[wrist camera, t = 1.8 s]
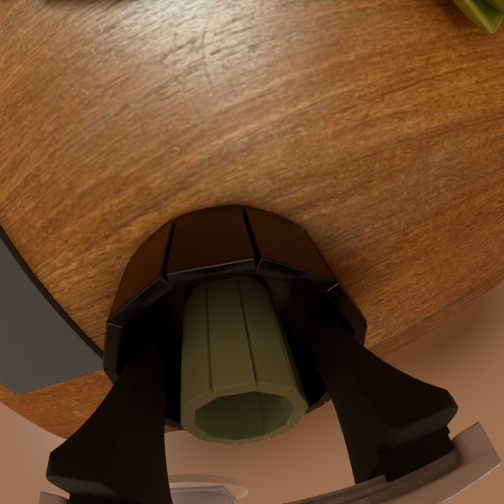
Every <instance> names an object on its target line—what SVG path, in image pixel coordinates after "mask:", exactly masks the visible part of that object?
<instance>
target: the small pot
mask: <svg viewBox="0 0 504 504" xmlns="http://www.w3.org/2000/svg"><path fill="white" fill-rule="evenodd" d="M307 409H308V401H307V398H306V395H305V392H304V389H303V385H302V382H301V379H300V376H299V373H298V370H297V367H296V364H295V360H294V357H293V354H292V351H291V348H290V345H289V342H288V339H287V336H286V333H285V329H284V326H283V323H282V320H281V317H280V314H279V311H278V308H277V306H276V305H275V303H274V300H273V297H272V295H271V293H270V291H269V290H268V289H267V288H266V287H265V286H264V285H263V284H262V283H260V282H259V281H257V280H255V279H253V278H250V277H248V276H241V277H236V278H230V279H224V280H219V281H213V282H207V283H202V284H199V285H197V286H196V287H195V288H194V289H193V290H192V291H191V292H190V294H189V295H188V297H187V299H186V301H185V305H184V313H183V329H182V353H181V393H180V425H181V426H182V428H183V429H185V430H186V431H188V432H189V433H191V434H193V435H194V436H196V437H197V438H199V439H201V440H203V439H204V440H205V441H210V442H216V443H223V444H235V443H236V444H244V443H250V442H256V441H262V440H267V439H268V438H273V437H275V436H277V435H279V434H281V433H283V432H285V431H287V430H289V429H290V428H293V427H294V426H295V424H298V423H299V421H300V420H301V418H302V417H303V415H304V413H305V412H306V410H307Z"/></svg>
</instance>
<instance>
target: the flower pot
mask: <svg viewBox="0 0 504 504" xmlns="http://www.w3.org/2000/svg"><path fill="white" fill-rule="evenodd" d="M452 1H453V2H454V3H455V4H456V6H457V7H458V8H459V9H460V10H461V11H462V12H463V13H464V14H465V15H466V16H467V17H468V18H469V19H470V20H471V21H472V22H473V23H474V24H475V25H476V26H477V27H479V28H480V29H481V30H483V31H484V32H486V33H488V34H494V33H495V32H496V30H497V29H498V27H499V26H500V24H501V22H502V20H503V18H504V0H452Z"/></svg>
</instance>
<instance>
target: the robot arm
mask: <svg viewBox="0 0 504 504" xmlns="http://www.w3.org/2000/svg"><path fill="white" fill-rule="evenodd" d="M309 344H310V347H311V350H312V354H313V357H314V360H315V363H316V366H317V368H318V370H319V372H320V375H321V377H322V379H323V381H324V384H325V386H326V388H327V390H328V393H329V395H330V397H331V399H332V402H333V404H334V407H335V409H336V412H337V416H338V419H339V422H340V425H341V429H342V432H343V435H344V439H345V443H346V447H347V450H348V454H349V458H350V462H351V467H352V471H353V475H354V481H355V485H353V486H350V487H347V488H344V489H340V490H337V491H334V492H330V493H327V494H323V495H319V496H315V497H312V498H307V499H303V500H298V501H294V502H289V503H284V504H441V503H443V502H445V501H447V500H448V499H450V498H452V497H453V496H455V495H457V494H458V493H460V492H462V491H463V490H465V489H466V488H468V487H469V486H471V485H472V484H474V483H475V482H477V481H478V480H479V479H481V478H482V477H484V476H485V475H487V474H488V473H489V472H491V471H492V470H493V469H495V468H496V467H497V466H499V465H500V464H501V460H500V458H499V456H498V454H497V452H496V450H495V448H494V447H493V445H492V443H491V441H490V439H489V438H488V436H487V434H486V432H485V431H484V429H483V427H482V425H481V424H480V422H477V423H475V424H474V425H472V426H471V427H469V428H467V429H466V430H464V431H462V432H461V433H459V434H458V435H456V436H455V437H454V438H453V439H452V440H450V438H449V436H448V434H449V433H450V431H449V429H448V427H447V425H448V423H449V422H450V421H451V420H452V418H453V417H454V416H455V414H456V413H457V410H458V406H457V404H456V402H455V401H454V399H453V397H452V396H451V395H450V393H449V392H448V391H447V390H445V389H443V388H439V387H436V386H433V385H430V384H428V383H425V382H423V381H420V380H418V379H415V378H413V377H411V376H409V375H407V374H405V373H403V372H402V371H400V370H398V369H396V368H394V367H393V366H391V365H389V364H388V363H386V362H385V361H383V360H381V359H380V358H379V357H377V356H376V355H374V354H373V353H372V352H370V351H369V350H368V349H366V348H365V347H364V346H363V345H361V344H360V343H359V342H358V341H357V340H355V339H354V338H353V337H352V336H351V335H350V334H349V333H348V332H347V331H345V330H344V329H343V328H342V327H341V326H340V325H339V324H338V323H337V322H336V321H335V320H334V319H333V318H332V317H331V316H330V315H329V314H328V313H327V312H326V310H324V309H320V310H315V311H311V312H310V343H309ZM166 400H167V368H166V366H165V364H164V362H163V360H162V358H161V356H160V354H159V352H158V350H157V348H156V346H155V344H154V342H153V340H152V339H148V340H140V341H139V342H138V344H137V345H136V347H135V349H134V351H133V352H132V354H131V356H130V358H129V360H128V361H127V363H126V365H125V367H124V369H123V370H122V372H121V374H120V375H119V377H118V379H117V380H116V382H115V384H114V385H113V387H112V388H111V390H110V391H109V393H108V394H107V396H106V397H105V399H104V400H103V402H102V403H101V404H100V406H99V407H98V408H97V409H96V411H95V412H94V413H93V414H92V415H91V416H90V418H89V419H88V420H87V421H86V422H85V423H84V424H83V425H82V426H81V427H80V428H79V429H78V430H77V431H76V432H75V433H74V434H73V435H72V436H71V437H70V438H69V439H67V440H66V441H65V442H64V443H63V444H61V445H60V446H59V447H57V448H56V449H55V450H53V451H52V452H51V453H50V456H49V462H48V466H47V473H46V478H47V480H48V481H49V482H51V483H52V484H54V485H55V486H57V487H59V488H61V489H62V490H64V491H66V492H68V493H69V494H70V498H69V500H68V499H66V498H64V497H61V496H58V495H54V494H50V493H46V492H40V500H39V504H237V503H238V501H237V500H236V499H235V498H234V497H233V496H232V495H231V493H230V492H229V491H228V490H227V489H226V488H225V487H224V486H208V487H191V488H170V487H169V480H168V474H167V466H166V456H165V443H164V428H165V413H166Z"/></svg>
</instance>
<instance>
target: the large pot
mask: <svg viewBox="0 0 504 504" xmlns="http://www.w3.org/2000/svg"><path fill="white" fill-rule="evenodd" d="M241 276H248V277H250V278H253V279H255V280H257V281H259V282H260V283H262V284H263V285H264V286H265V287H266V288H267V289H268V290H269V291H270V293H271V295H272V297H273V300H274V303H275V305H276V306H277V308H278V311H279V314H280V317H281V320H282V323H283V326H284V329H285V333H286V336H287V339H288V342H289V345H290V348H291V351H292V354H293V357H294V360H295V364H296V367H297V370H298V373H299V376H300V379H301V382H302V385H303V389H304V392H305V395H306V398H307V401H308V409H307V410H306V412H305V413H304V415H305V414H307V413H309V412H311V411H312V410H315V409H317V408H318V407H320V406H322V405H324V404H325V403H324V402H328V401H329V400H330V399H331V397H330V395H329V393H328V390H327V388H326V386H325V384H324V381H323V379H322V377H321V375H320V372H319V370H318V368H317V366H316V363H315V360H314V357H313V354H312V350H311V347H310V344H309V343H310V312H311V311H315V310H320V309H324V310H326V312H327V313H328V314H329V315H330V316H331V317H332V318H333V319H334V320H335V321H336V322H337V323H338V324H339V325H340V326H341V327H342V328H343V329H344V330H345V331H347V332H348V333H349V334H350V335H351V336H352V337H353V338H354V339H355V340H357V341H358V342H359V343H360V344H361V345H363V346H364V342H365V336H366V331H367V324H366V322H367V321H366V319H365V317H364V316H363V314H362V313H361V311H360V309H359V308H358V306H357V305H356V303H355V302H354V300H353V298H352V297H351V295H350V294H349V292H348V291H347V289H346V287H345V286H344V284H343V283H342V281H341V280H340V278H339V277H338V275H337V274H336V272H335V271H334V269H333V267H332V266H331V265H330V263H329V262H328V260H327V259H326V258H325V256H324V255H323V253H322V252H321V251H320V249H319V248H318V246H317V245H316V244H315V242H314V241H313V240H312V238H311V237H310V236H309V234H308V233H307V232H306V230H303V229H302V228H301V227H300V226H298V225H295V224H293V223H292V222H290V221H289V220H287V219H285V218H283V217H281V216H278V215H276V214H274V213H271V212H267V211H264V210H260V209H256V208H249V207H242V206H222V207H213V208H206V209H202V210H198V211H195V212H191V213H189V214H186V215H183V216H181V217H178V218H176V219H175V220H173V221H171V222H169V223H167V224H166V225H164V226H162V227H161V228H160V229H159V230H157V231H156V232H155V233H153V234H152V235H151V236H150V237H149V238H148V239H147V240H146V241H145V242H144V243H143V244H142V246H141V247H140V248H139V250H138V251H137V252H136V253H135V254H134V255H133V256H132V257H131V259H130V261H129V262H128V264H127V266H126V269H125V272H124V274H123V277H122V280H121V282H120V285H119V288H118V291H117V293H116V296H115V299H114V302H113V305H112V308H111V311H110V314H109V317H108V320H107V324H106V332H105V341H104V351H103V363H102V366H103V368H104V372H105V373H106V375H107V376H108V378H109V379H110V381H111V382H112V383H113V385H114V384H115V382H116V380H117V379H118V377H119V375H120V374H121V372H122V370H123V369H124V367H125V365H126V363H127V361H128V360H129V358H130V356H131V354H132V352H133V351H134V349H135V347H136V345H137V344H138V342H139V341H140V340H148V339H152V340H153V342H154V344H155V346H156V348H157V350H158V352H159V354H160V356H161V358H162V360H163V362H164V364H165V366H166V368H167V400H166V413H165V424H166V425H168V426H170V427H172V428H175V427H177V429H179V430H185V429H183V428H182V426H181V425H180V393H181V353H182V329H183V313H184V305H185V301H186V299H187V297H188V295H189V294H190V292H191V291H192V290H193V289H194V288H195V287H196V286H197V285H199V284H202V283H207V282H213V281H219V280H224V279H230V278H236V277H241ZM185 431H186V430H185Z"/></svg>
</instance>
